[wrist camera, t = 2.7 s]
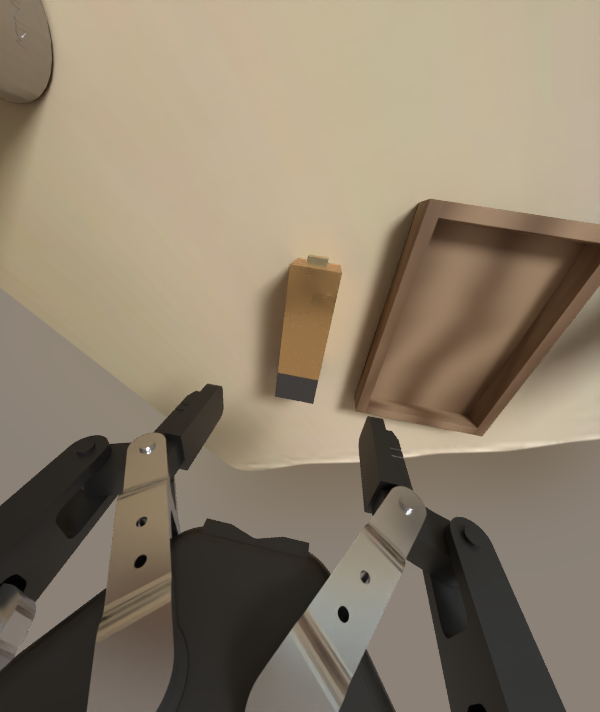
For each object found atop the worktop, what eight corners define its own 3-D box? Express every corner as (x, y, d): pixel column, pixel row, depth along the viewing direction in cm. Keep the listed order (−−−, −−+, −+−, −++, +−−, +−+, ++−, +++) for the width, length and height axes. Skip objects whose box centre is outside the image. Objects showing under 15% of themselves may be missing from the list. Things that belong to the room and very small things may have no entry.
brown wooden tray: (354, 397, 28) (355, 411, 26) (418, 202, 18) (430, 198, 16) (470, 419, 27) (482, 436, 25) (603, 230, 17) (642, 231, 15)
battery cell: (283, 372, 28) (275, 396, 24) (299, 249, 21) (290, 254, 17) (316, 379, 27) (312, 403, 24) (342, 257, 21) (344, 263, 17)
